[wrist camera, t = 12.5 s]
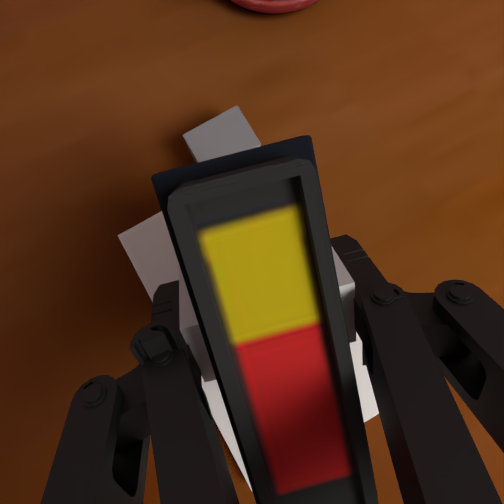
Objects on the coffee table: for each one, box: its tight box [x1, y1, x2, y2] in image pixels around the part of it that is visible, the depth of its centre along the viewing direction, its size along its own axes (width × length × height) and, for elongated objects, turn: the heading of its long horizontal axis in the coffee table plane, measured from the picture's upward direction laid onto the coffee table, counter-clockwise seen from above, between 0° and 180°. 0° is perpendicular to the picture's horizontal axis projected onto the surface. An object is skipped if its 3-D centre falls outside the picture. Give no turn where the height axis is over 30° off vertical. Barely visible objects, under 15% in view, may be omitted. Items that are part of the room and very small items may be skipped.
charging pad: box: [117, 106, 379, 491], centre depth 23 cm, size 21×12×3 cm, turn 30°
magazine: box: [151, 135, 378, 504], centre depth 16 cm, size 4×13×15 cm, turn 15°
